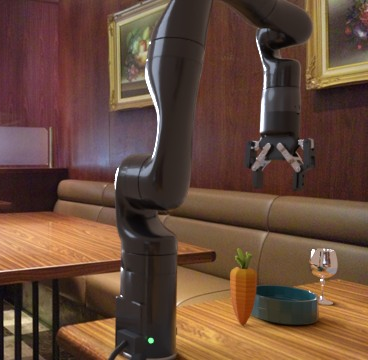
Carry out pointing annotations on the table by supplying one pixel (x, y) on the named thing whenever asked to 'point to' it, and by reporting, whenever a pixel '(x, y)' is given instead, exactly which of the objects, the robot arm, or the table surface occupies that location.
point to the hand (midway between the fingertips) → (277, 190)
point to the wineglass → (323, 267)
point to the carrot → (243, 287)
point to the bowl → (286, 305)
